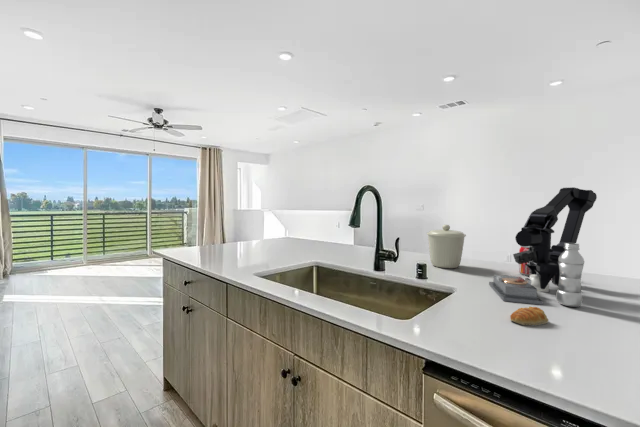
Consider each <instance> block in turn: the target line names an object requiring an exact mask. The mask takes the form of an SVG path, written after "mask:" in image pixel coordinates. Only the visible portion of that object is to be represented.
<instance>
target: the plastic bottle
mask: <svg viewBox="0 0 640 427" xmlns="http://www.w3.org/2000/svg"><path fill="white" fill-rule="evenodd" d="M564 249H565V251H564V252H563V253H561V255H560V256H559V258H558V263H559V275H560V276H559V285H558V286H557V290H556V292H555V293H556V294H555V298H556V301H557V302H558V304H561V305H563V306H567V307H572V308H578V307H580V306H581V305H582V303H583V295H582V284H581V282H582V276H583V274H582V273H583V270H584V267H585V266H584V265H585V259H584V257H583V256H582V254H581V253H580V252H579V251H580V243H577V242H576V243H564Z"/></svg>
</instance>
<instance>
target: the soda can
mask: <svg viewBox="0 0 640 427" xmlns="http://www.w3.org/2000/svg"><path fill="white" fill-rule="evenodd" d="M529 247H530V246H525V247H523V246H520V248H519V251H518V253H519V252H523V251H528V250H529ZM531 247H532V246H531ZM525 264H527V263H523V264H518V273H519V275H521V276H523V275H525V276H524V277H530V275H532V274H531V271H530V269H529V268H528V267H527V266H526V265H525Z"/></svg>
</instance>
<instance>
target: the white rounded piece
mask: <svg viewBox="0 0 640 427" xmlns="http://www.w3.org/2000/svg"><path fill="white" fill-rule="evenodd" d="M529 279H530V280H532V281H531V285H532V286H534V287H535V288H536V289H537V292H538V291H539V292H540V293H549V292H550V282H549V283H548V285H547V286H546V288H545V289H541V287H540V280H539V274H538V273H537V272H536V275H535V274H532V275H530V276H529Z"/></svg>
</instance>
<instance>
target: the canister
mask: <svg viewBox="0 0 640 427" xmlns="http://www.w3.org/2000/svg"><path fill="white" fill-rule="evenodd" d="M450 228H451V226H450V224H443V225H442V229H431V230H430V231H428V232H426V235H427V238H428V239H427V240H428V250H429V259H430V263H431V264H432V266H434V267H437V268H440V269H441V268H442V269H456V268H458V267H459V266H460V265H461V262H462V256H463V251H464V243H465V238H466V237H467V235H466V234H465V233H464V232H462V231H459V230H454V229H452V230H451V229H450Z"/></svg>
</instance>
